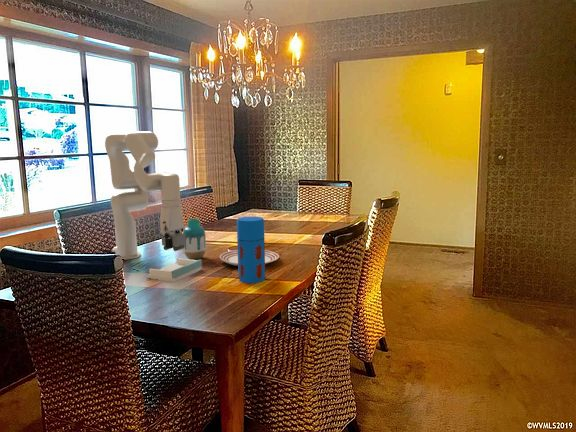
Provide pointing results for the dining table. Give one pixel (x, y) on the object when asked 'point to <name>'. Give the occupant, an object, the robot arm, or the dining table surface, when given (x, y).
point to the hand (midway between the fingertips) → (173, 245)
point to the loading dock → (176, 270)
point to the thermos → (251, 249)
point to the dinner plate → (232, 257)
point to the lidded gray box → (175, 241)
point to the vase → (194, 239)
